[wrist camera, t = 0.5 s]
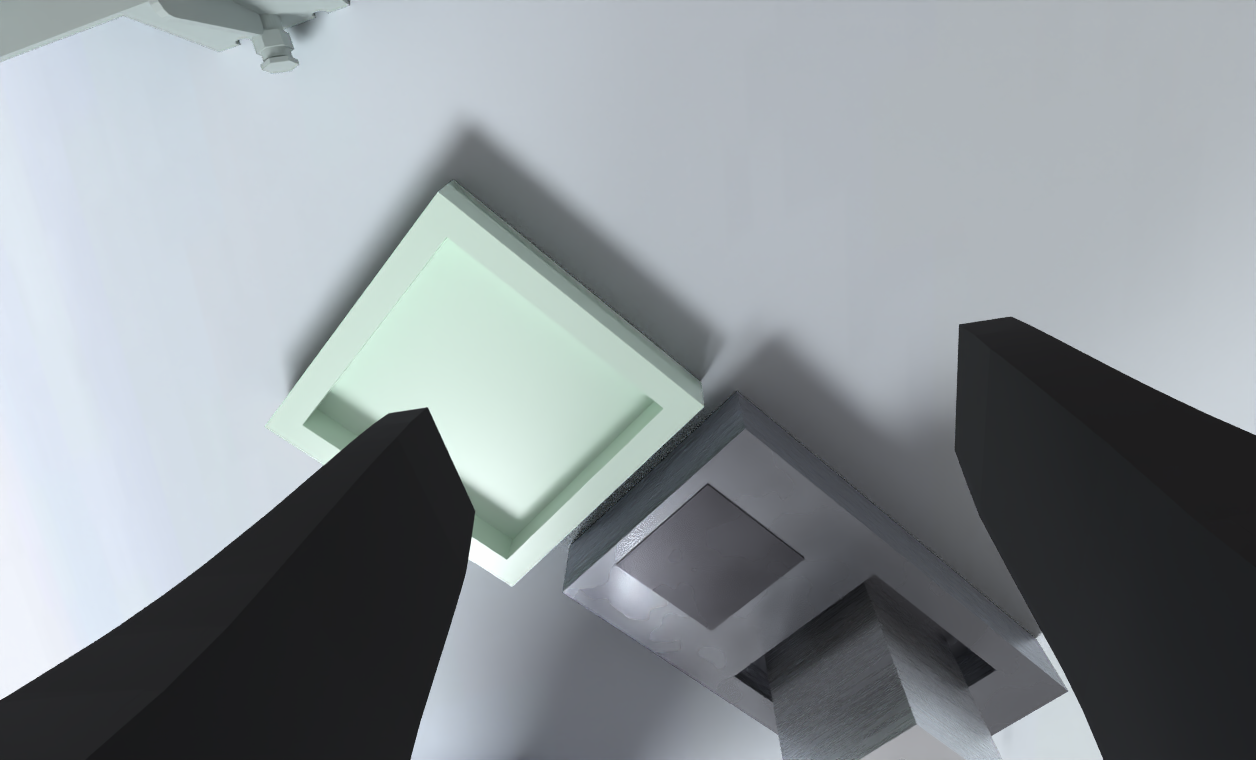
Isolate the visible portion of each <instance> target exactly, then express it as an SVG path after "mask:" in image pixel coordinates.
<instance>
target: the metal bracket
mask: <svg viewBox="0 0 1256 760" xmlns="http://www.w3.org/2000/svg"><path fill="white" fill-rule="evenodd" d="M347 6H350V4H349V2H348V0H0V62H2V61H5V60H7V59H10V58H13V57H15V56H18V55H21V54H23V53H26V52H29V51H31V50H34V49H37V48H39V47H42V46H45V45H47V44H50V43H53V42H55V41H58V40H61V39H63V38H66V37H69V36H71V35H74V34H77V33H79V32H82V31H85V30H87V29H90V28H93V27H95V26H98V25H101V24H103V23H106V22H109V21H111V20H114V19H117V18H119V17H122V16H125V17H128V18H130V19H133V20H136V21H138V22H141V23H144V24H146V25H149V26H151V27H154V28H157V29H159V30H162V31H165V32H167V33H170V34H173V35H175V36H178V37H180V38H183V39H186V40H188V41H191V42H194V43H196V44H199V45H201V46H204V47H207V48H209V49H212V50H215V51H217V52H222V51H225V50H227V49H230V48H233V47H236V46H239V45H240V43H239V42H238V40H239V39H250V40H251V41H252V42H253V45H254V48H255V51H256V54H258V55H260V56H262V58H263V61H264V62H263V63H262V64H261V68H262V70H263V71H266V72H269V73H271V74H276V73H283V72H290V71H292V70H293V69H294V68H296V67H297V66H298V65H299V62H298V60H297V59H295V58H293V57H292V54H291V51H292V50H293V49H294V47H293V44H292V41H291V38H290V35H289V33H287V32H285V31H284V30H283V29H286V28H289V27H291V26H294V25H297V24H300V23H303V22H305V21H308V20H311V19H314V18H316V16H315V14H314V13H315V12H317V11H326V12H328V13H331V12H333V11H336V10H339V9H342V8H344V7H347Z"/></svg>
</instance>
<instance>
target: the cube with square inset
mask: <svg viewBox="0 0 1256 760" xmlns="http://www.w3.org/2000/svg"><path fill="white" fill-rule="evenodd" d="M764 655H765V660H766V666H767V672H768V678H769V683H770V689H771V695H772V701H773V706H774V712H775V718H776V724H777V729H778V735H779V741H780V747H781V752H782V758H783V760H1002V758H1001V756H1000V754H999V752H998V750H997V747H996V745H995V743H994V741H993V739H992V737H991V735H990V732H989V730H988V728H987V726H986V724H985V722H984V720H983V718H982V715H981V713H980V711H979V709H978V707H977V705H976V703H975V700H974V698H973V696H972V694H971V692H970V690H969V688H968V686H967V683H966V681H965V679H964V677H963V675H962V673H961V671H960V669H959V666H958V664H957V662H956V660H955V658H954V656H953V654H952V651H951V649H950V647H949V645H948V643H947V642H946V641H945V640H944V639H942V638H941V637H940V636H938V635H937V634H936V633H935V632H933V631H932V630H931V629H930V628H928V627H927V626H926V625H924V624H923V623H922V622H921V621H919V620H918V619H917V618H915V617H914V616H913V615H912V614H910V613H909V612H908V611H907V610H905V609H904V608H903V607H901V606H900V605H899V604H898V603H896V602H895V601H894V600H892V599H891V598H890V597H889V596H887V595H886V594H885V593H884V592H882V591H881V590H880V589H878V588H877V587H876V586H875V585H873V584H872V583H871V582H869V581H868V580H865V581H864V582H863V583H861V584H860V585H859V586H857V587H856V588H854V589H853V590H852V591H850V592H849V593H848V594H846V595H845V596H843V597H842V598H841V599H839V600H838V601H837V602H835V603H834V604H832V605H831V606H830V607H828V608H827V609H826V610H824V611H823V612H822V613H820V614H819V615H817V616H816V617H815V618H813V619H812V620H811V621H809V622H808V623H806V624H805V625H804V626H802V627H801V628H800V629H798V630H797V631H795V632H794V633H793V634H791V635H790V636H789V637H787V638H786V639H784V640H783V641H782V642H780V643H779V644H778V645H776V646H775V647H773V648H772V649H771V650H769V651H768V652H767V653H765V654H764Z"/></svg>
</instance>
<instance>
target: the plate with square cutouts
mask: <svg viewBox="0 0 1256 760" xmlns="http://www.w3.org/2000/svg"><path fill="white" fill-rule="evenodd" d="M865 580H868V581H869V582H871V583H872V584H873V585H875V586H876V587H877V588H878V589H880V590H881V591H882V592H884V593H885V594H886V595H887V596H889V597H890V598H891V599H892V600H894V601H895V602H896V603H898V604H899V605H900V606H901V607H903V608H904V609H905V610H907V611H908V612H909V613H910V614H912V615H913V616H914V617H915V618H917V619H918V620H919V621H921V622H922V623H923V624H924V625H926V626H927V627H928V628H930V629H931V630H932V631H933V632H935V633H936V634H937V635H938V636H940V637H941V638H942V639H944V640H945V641H946V642H947V643H948V645H949V647H950V649H951V651H952V654H953V656H954V658H955V660H956V662H957V664H958V666H959V669H960V671H961V673H962V675H963V677H964V679H965V681H966V683H967V686H968V688H969V690H970V692H971V694H972V696H973V698H974V700H975V703H976V705H977V707H978V709H979V711H980V713H981V715H982V718H983V720H984V722H985V724H986V726H987V728H988V730H989V732H990V735H991V736H992V735H994V734H995V733H997V732H999V731H1001V730H1002V729H1004V728H1006V727H1007V726H1009V725H1011V724H1013V723H1014V722H1016V721H1018V720H1020V719H1021V718H1023V717H1025V716H1026V715H1028V714H1030V713H1032V712H1033V711H1035V710H1037V709H1039V708H1040V707H1042V706H1044V705H1045V704H1047V703H1049V702H1051V701H1052V700H1054V699H1056V698H1057V697H1059V696H1061V695H1063V694H1064V693H1066V692H1068V690H1067V688H1066V687H1065V685H1064V683H1063V682H1062V680H1061V678H1060V677H1059V675H1058V673H1057V672H1056V670H1055V669H1054V667H1053V665H1052V664H1051V662H1050V660H1049V659H1048V657H1047V656H1046V654H1045V652H1044V651H1043V649H1042V647H1041V646H1040V644H1039V643H1038V641H1037V639H1035V638H1034V637H1033V636H1032V635H1031V634H1029V633H1028V632H1027V631H1026V630H1025V629H1023V628H1022V627H1021V626H1020V625H1019V624H1017V623H1016V622H1015V621H1014V620H1012V619H1011V618H1010V617H1009V616H1008V615H1006V614H1005V613H1004V612H1003V611H1002V610H1000V609H999V608H998V607H997V606H996V605H994V604H993V603H992V602H991V601H990V600H988V599H987V598H986V597H985V596H984V595H982V594H981V593H980V592H979V591H978V590H976V589H975V588H974V587H973V586H971V585H970V584H969V583H968V582H967V581H965V580H964V579H963V578H962V577H961V576H959V575H958V574H957V573H956V572H955V571H953V570H952V569H951V568H950V567H949V566H947V565H946V564H945V563H944V562H943V561H941V560H940V559H939V558H938V557H937V556H935V555H934V554H933V553H932V552H930V551H929V550H928V549H927V548H926V547H924V546H923V545H922V544H921V543H920V542H918V541H917V540H916V539H915V538H914V537H912V536H911V535H910V534H909V533H908V532H906V531H905V530H904V529H903V528H902V527H900V526H899V525H898V524H897V523H896V522H894V521H893V520H892V519H891V518H890V517H888V516H887V515H886V514H885V513H883V512H882V511H881V510H880V509H879V508H877V507H876V506H875V505H874V504H873V503H871V502H870V501H869V500H868V499H867V498H865V497H864V496H863V495H862V494H861V493H859V492H858V491H857V490H856V489H855V488H853V487H852V486H851V485H850V484H849V483H847V482H846V481H845V480H844V479H842V478H841V477H840V476H839V475H838V474H836V473H835V472H834V471H833V470H832V469H830V468H829V467H828V466H827V465H826V464H824V463H823V462H822V461H821V460H820V459H818V458H817V457H816V456H815V455H814V454H812V453H811V452H810V451H809V450H808V449H806V448H805V447H804V446H803V445H801V444H800V443H799V442H798V441H797V440H795V439H794V438H793V437H792V436H791V435H789V434H788V433H787V432H786V431H785V430H783V429H782V428H781V427H780V426H779V425H777V424H776V423H775V422H774V421H773V420H771V419H770V418H769V417H768V416H767V415H765V414H764V413H763V412H762V411H760V410H759V409H758V408H757V407H756V406H754V405H753V404H752V403H751V402H750V401H748V400H747V399H746V398H745V397H744V396H742V395H741V394H740V393H739V392H738V391H736V392H735V393H734V394H733V395H732V396H731V397H730V398H729V399H728V400H727V401H726V402H725V403H724V404H722V405H721V406H720V407H719V408H718V409H717V410H716V411H715V412H714V413H713V414H712V415H711V416H710V417H708V418H707V419H706V420H705V421H704V422H703V423H702V424H701V425H700V426H699V427H698V428H697V429H696V430H694V431H693V432H692V433H691V434H690V435H689V436H688V437H687V438H686V439H685V440H684V441H683V442H682V443H680V444H679V445H678V446H677V447H676V448H675V449H674V450H673V451H672V452H671V453H670V454H669V455H668V456H666V457H665V458H664V459H663V460H662V461H661V462H660V463H659V464H658V465H657V466H656V467H655V468H653V469H652V470H651V471H650V472H649V473H648V474H647V475H646V476H645V477H644V478H643V479H642V480H641V481H639V482H638V483H637V484H636V485H635V486H634V487H633V488H632V489H631V490H630V491H629V492H628V493H627V494H625V495H624V496H623V497H622V498H621V499H620V500H619V501H618V502H617V503H616V504H615V505H614V506H613V507H611V508H610V509H609V510H608V511H607V512H606V513H605V514H604V515H603V516H602V517H601V518H600V519H599V520H597V521H596V522H595V523H594V524H593V525H592V526H591V527H590V528H589V529H588V530H587V531H586V532H585V533H583V534H582V535H581V536H580V537H579V538H578V539H577V540H576V541H575V542H574V543H573V544H572V545H571V546H570V548H569V554H568V561H567V567H566V573H565V580H564V586H563V592H562V593H564V594H565V595H567V596H568V597H570V598H572V599H573V600H575V601H576V602H578V603H579V604H581V605H582V606H584V607H585V608H587V609H588V610H590V611H591V612H593V613H594V614H596V615H597V616H599V617H600V618H602V619H603V620H605V621H606V622H608V623H609V624H611V625H612V626H614V627H616V628H617V629H619V630H620V631H622V632H623V633H625V634H626V635H628V636H629V637H631V638H632V639H634V640H635V641H637V642H638V643H640V644H641V645H643V646H644V647H646V648H647V649H649V650H650V651H652V652H653V653H655V654H656V655H658V656H659V657H661V658H663V659H664V660H666V661H667V662H669V663H670V664H672V665H673V666H675V667H676V668H678V669H679V670H681V671H682V672H684V673H685V674H687V675H688V676H690V677H691V678H693V679H694V680H696V681H697V682H699V683H700V684H702V685H703V686H705V687H707V688H708V689H710V690H711V691H713V692H714V693H716V694H717V695H719V696H720V697H722V698H723V699H725V700H726V701H728V702H729V703H731V704H732V705H734V706H735V707H737V708H738V709H740V710H741V711H743V712H744V713H746V714H747V715H749V716H750V717H752V718H754V719H755V720H757V721H758V722H760V723H761V724H763V725H764V726H766V727H767V728H769V729H770V730H772V731H773V732H775V733H776V734H778V729H777V724H776V718H775V712H774V706H773V701H772V695H771V689H770V683H769V678H768V672H767V666H766V660H765V655H764V654H765V653H767V652H768V651H769V650H771V649H772V648H773V647H775V646H776V645H778V644H779V643H780V642H782V641H783V640H784V639H786V638H787V637H789V636H790V635H791V634H793V633H794V632H795V631H797V630H798V629H800V628H801V627H802V626H804V625H805V624H806V623H808V622H809V621H811V620H812V619H813V618H815V617H816V616H817V615H819V614H820V613H822V612H823V611H824V610H826V609H827V608H828V607H830V606H831V605H832V604H834V603H835V602H837V601H838V600H839V599H841V598H842V597H843V596H845V595H846V594H848V593H849V592H850V591H852V590H853V589H854V588H856V587H857V586H859V585H860V584H861V583H863V582H864V581H865Z"/></svg>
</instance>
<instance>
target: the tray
mask: <svg viewBox="0 0 1256 760" xmlns="http://www.w3.org/2000/svg"><path fill="white" fill-rule="evenodd" d="M425 407H428V409H429V411H430V413H431V415H432V417H433V420H434V422H435V424H436V426H437V428H438V430H439V433H440V435H441V437H442V439H443V441H444V444H445V446H446V448H447V450H448V452H449V455H450V457H451V459H452V461H453V463H454V465H455V468H456V470H457V472H458V474H459V476H460V479H461V481H462V483H463V485H464V487H465V489H466V492H467V494H468V496H469V498H470V500H471V503H472V505H473V507H474V509H475V518H474V525H473V532H472V539H471V546H470V552H469V558H468V559H470V560H471V561H473V562H474V563H476V564H477V565H479V566H480V567H482V568H483V569H485V570H487V571H488V572H490V573H491V574H493V575H494V576H496V577H497V578H499V579H500V580H502V581H504V582H505V583H507V584H508V585H510V586H511V587H513V586H514V585H515V584H516V583H517V582H518V581H519V580H520V579H521V578H522V577H523V576H524V575H525V574H527V573H528V572H529V571H530V570H531V569H532V568H533V567H534V566H535V565H536V564H537V563H538V562H539V561H540V560H541V559H543V558H544V557H545V556H546V555H547V554H548V553H549V552H550V551H551V550H552V549H553V548H554V547H555V546H556V545H557V544H559V543H560V542H561V541H562V540H563V539H564V538H565V537H566V536H567V535H568V534H569V533H570V532H571V531H572V530H573V529H574V528H576V527H577V526H578V525H579V524H580V523H581V522H582V521H583V520H584V519H585V518H586V517H587V516H588V515H589V514H590V513H592V512H593V511H594V510H595V509H596V508H597V507H598V506H599V505H600V504H601V503H602V502H603V501H604V500H605V499H606V498H608V497H609V496H610V495H611V494H612V493H613V492H614V491H615V490H616V489H617V488H618V487H619V486H620V485H621V484H622V483H624V482H625V481H626V480H627V479H628V478H629V477H630V476H631V475H632V474H633V473H634V472H635V471H636V470H637V469H638V468H639V467H641V466H642V465H643V464H644V463H645V462H646V461H647V460H648V459H649V458H650V457H651V456H652V455H653V454H654V453H655V452H657V451H658V450H659V449H660V448H661V447H662V446H663V445H664V444H665V443H666V442H667V441H668V440H669V439H670V438H671V437H673V436H674V435H675V434H676V433H677V432H678V431H679V430H680V429H681V428H682V427H683V426H684V425H685V424H686V423H687V422H689V421H690V420H691V419H692V418H693V417H694V416H695V415H696V414H697V413H698V412H699V411H700V410H701V409H702V408H703V407H704V400H703V392H702V385H701V382H700V381H699V380H698V379H697V378H695V377H694V376H693V375H692V374H691V373H689V372H688V371H687V370H686V369H684V368H683V367H682V366H681V365H680V364H678V363H677V362H676V361H675V360H673V359H672V358H671V357H670V356H669V355H667V354H666V353H665V352H664V351H662V350H661V349H660V348H659V347H658V346H656V345H655V344H654V343H653V342H651V341H650V340H649V339H648V338H647V337H645V336H644V335H643V334H642V333H640V332H639V331H638V330H637V329H636V328H634V327H633V326H632V325H631V324H629V323H628V322H627V321H626V320H625V319H623V318H622V317H621V316H620V315H618V314H617V313H616V312H615V311H614V310H612V309H611V308H610V307H609V306H607V305H606V304H605V303H604V302H603V301H601V300H600V299H599V298H598V297H596V296H595V295H594V294H593V293H592V292H590V291H589V290H588V289H587V288H585V287H584V286H583V285H582V284H581V283H579V282H578V281H577V280H576V279H574V278H573V277H572V276H571V275H570V274H568V273H567V272H566V271H565V270H563V269H562V268H561V267H560V266H559V265H557V264H556V263H555V262H554V261H552V260H551V259H550V258H549V257H548V256H546V255H545V254H544V253H543V252H541V251H540V250H539V249H538V248H537V247H535V246H534V245H533V244H532V243H530V242H529V241H528V240H527V239H526V238H524V237H523V236H522V235H521V234H519V233H518V232H517V231H516V230H515V229H513V228H512V227H511V226H510V225H508V224H507V223H506V222H505V221H504V220H502V219H501V218H500V217H499V216H497V215H496V214H495V213H494V212H493V211H491V210H490V209H489V208H488V207H486V206H485V205H484V204H483V203H482V202H480V201H479V200H478V199H477V198H475V197H474V196H473V195H472V194H471V193H469V192H468V191H467V190H466V189H464V188H463V187H462V186H461V185H460V184H458V183H457V182H456V181H455V180H452V181H450V182H449V183H448V184H447V185H446V186H444V187H443V188H442V189H441V190H439V191H438V192H437V194H436V195H435V196H434V198H433V199H432V200H431V202H430V203H429V204H428V206H427V207H426V209H425V210H424V211H423V213H422V214H421V215H420V217H419V218H418V219H417V221H416V222H415V223H414V225H413V226H412V228H411V229H410V230H409V232H408V233H407V234H406V236H405V237H404V238H403V240H402V241H401V242H400V244H399V245H398V246H397V248H396V249H395V251H394V252H393V253H392V255H391V256H390V257H389V259H388V260H387V261H386V263H385V264H384V265H383V267H382V268H381V270H380V271H379V272H378V274H377V275H376V276H375V278H374V279H373V280H372V282H371V283H370V284H369V286H368V287H367V288H366V290H365V291H364V293H363V294H362V295H361V297H360V298H359V299H358V301H357V302H356V303H355V305H354V306H353V307H352V309H351V310H350V312H349V313H348V314H347V316H346V317H345V318H344V320H343V321H342V322H341V324H340V325H339V326H338V328H337V329H336V330H335V332H334V333H333V335H332V336H331V337H330V339H329V340H328V341H327V343H326V344H325V345H324V347H323V348H322V349H321V351H320V352H319V354H318V355H317V356H316V358H315V359H314V360H313V362H312V363H311V364H310V366H309V367H308V368H307V370H306V371H305V372H304V374H303V375H302V377H301V378H300V379H299V381H298V382H297V383H296V385H295V386H294V387H293V389H292V390H291V391H290V393H289V394H288V396H287V397H286V398H285V400H284V401H283V402H282V404H281V405H280V406H279V408H278V409H277V410H276V412H275V413H274V414H273V416H272V417H271V419H270V420H269V421H268V423H267V424H266V425H265V428H267V429H268V430H270V431H271V432H273V433H275V434H276V435H278V436H279V437H281V438H282V439H284V440H285V441H287V442H288V443H290V444H292V445H293V446H295V447H296V448H298V449H299V450H301V451H302V452H304V453H305V454H307V455H309V456H310V457H312V458H313V459H315V460H316V461H318V462H319V463H321V464H322V465H325V464H326V463H327V462H328V461H329V460H331V459H332V458H333V457H334V456H335V455H336V454H338V453H339V452H340V451H341V450H342V449H343V448H345V447H346V446H347V445H348V444H349V443H350V442H352V441H353V440H354V439H355V438H356V437H358V436H359V435H360V434H361V433H363V432H364V431H365V430H366V429H368V428H369V427H370V426H371V425H373V424H374V423H375V422H377V421H378V420H380V419H381V418H383V417H384V416H385V415H387V414H388V413H393V412H400V411H406V410H412V409H419V408H425Z"/></svg>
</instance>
